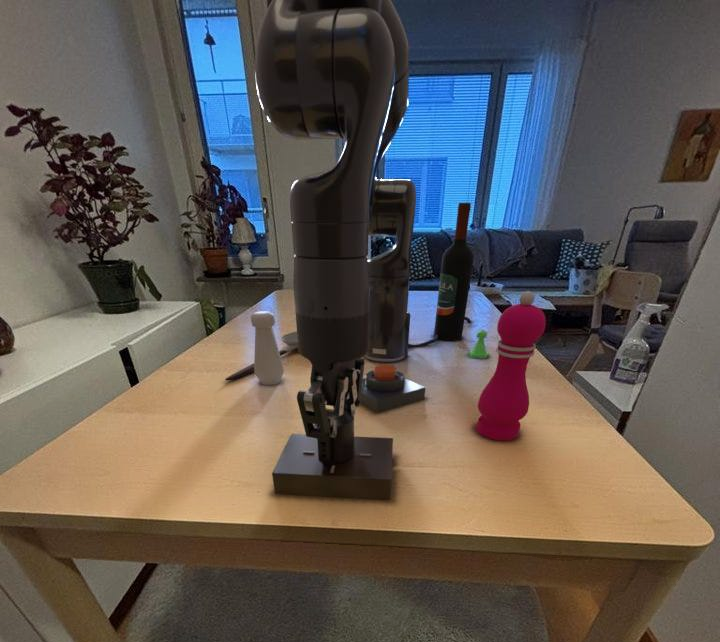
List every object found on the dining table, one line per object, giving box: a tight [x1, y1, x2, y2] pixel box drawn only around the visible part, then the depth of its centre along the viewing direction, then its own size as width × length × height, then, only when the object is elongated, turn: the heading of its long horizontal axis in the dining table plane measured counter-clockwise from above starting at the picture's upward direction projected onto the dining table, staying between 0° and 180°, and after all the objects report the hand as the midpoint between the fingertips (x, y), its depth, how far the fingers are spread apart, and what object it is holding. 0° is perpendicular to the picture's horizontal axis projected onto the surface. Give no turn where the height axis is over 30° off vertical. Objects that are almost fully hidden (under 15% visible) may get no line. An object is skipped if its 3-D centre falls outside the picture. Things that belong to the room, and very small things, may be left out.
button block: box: [360, 370, 426, 414], centre depth 72 cm, size 11×10×4 cm
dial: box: [328, 411, 355, 463], centre depth 48 cm, size 4×4×5 cm
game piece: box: [468, 329, 489, 359], centre depth 92 cm, size 4×4×6 cm
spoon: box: [224, 330, 298, 381], centre depth 90 cm, size 11×33×3 cm, turn 152°
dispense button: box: [373, 364, 397, 380], centre depth 70 cm, size 4×4×2 cm
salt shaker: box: [250, 310, 285, 386], centre depth 75 cm, size 6×6×13 cm
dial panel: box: [271, 433, 394, 501], centre depth 50 cm, size 14×10×3 cm
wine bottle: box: [433, 202, 474, 342], centre depth 99 cm, size 8×8×30 cm
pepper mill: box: [476, 290, 547, 441], centre depth 56 cm, size 7×7×20 cm
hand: (336, 451), depth 49 cm, fingers closed on dial, 4 cm apart
